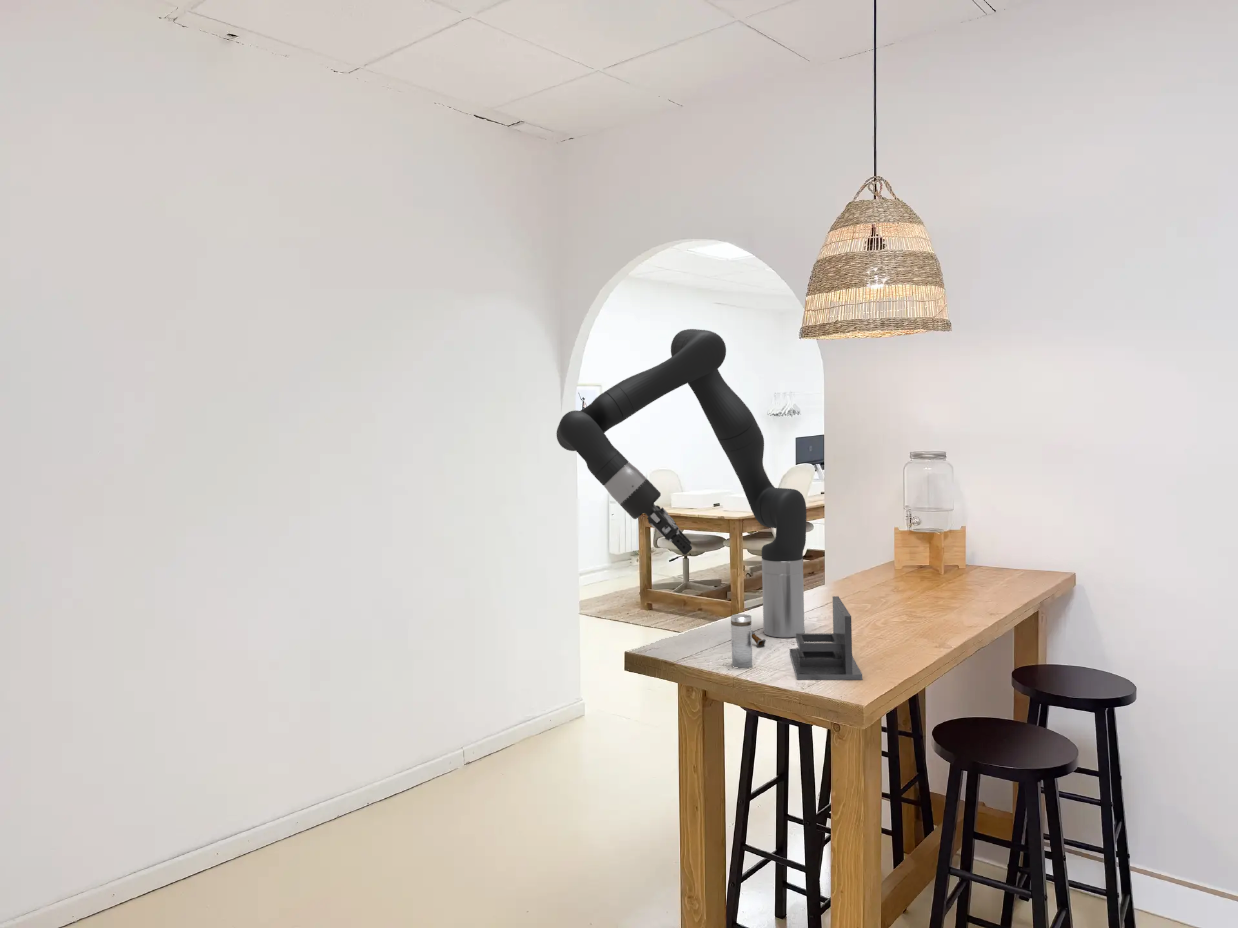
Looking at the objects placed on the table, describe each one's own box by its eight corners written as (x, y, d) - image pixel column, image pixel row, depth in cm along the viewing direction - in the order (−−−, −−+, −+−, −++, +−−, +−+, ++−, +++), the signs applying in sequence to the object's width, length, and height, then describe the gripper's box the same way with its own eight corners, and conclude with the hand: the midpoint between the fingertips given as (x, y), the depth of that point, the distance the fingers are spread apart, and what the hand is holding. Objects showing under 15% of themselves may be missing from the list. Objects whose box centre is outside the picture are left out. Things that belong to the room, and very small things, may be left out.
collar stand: (789, 653, 179) (788, 596, 179) (848, 653, 178) (847, 596, 177) (797, 679, 161) (795, 616, 161) (862, 679, 160) (861, 616, 159)
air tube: (732, 662, 174) (730, 614, 173) (752, 662, 173) (750, 614, 173) (732, 668, 170) (730, 618, 169) (752, 668, 169) (751, 618, 169)
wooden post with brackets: (739, 634, 193) (744, 617, 191) (761, 655, 187) (766, 639, 185) (733, 635, 192) (738, 619, 190) (754, 657, 186) (759, 640, 184)
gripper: (644, 478, 164) (703, 540, 163) (646, 476, 178) (700, 532, 178) (616, 505, 164) (675, 567, 164) (620, 501, 178) (674, 557, 178)
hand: (688, 549), depth 171 cm, fingers open, 8 cm apart
